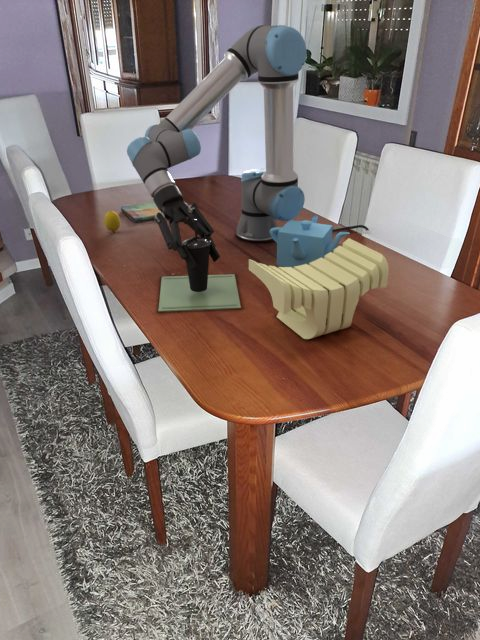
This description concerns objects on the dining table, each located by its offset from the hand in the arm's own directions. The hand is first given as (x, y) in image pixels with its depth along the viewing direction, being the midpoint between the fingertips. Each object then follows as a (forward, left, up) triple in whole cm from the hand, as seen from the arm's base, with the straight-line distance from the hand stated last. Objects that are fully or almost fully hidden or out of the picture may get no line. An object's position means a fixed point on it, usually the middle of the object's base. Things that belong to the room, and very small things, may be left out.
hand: (205, 263), depth 142 cm
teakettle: (-32, -18, -10) cm, 38 cm away
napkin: (+2, -3, -10) cm, 10 cm away
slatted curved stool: (-27, +18, -10) cm, 34 cm away
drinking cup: (+2, -3, -9) cm, 9 cm away
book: (+18, -78, -10) cm, 80 cm away
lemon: (+32, -56, -10) cm, 65 cm away
